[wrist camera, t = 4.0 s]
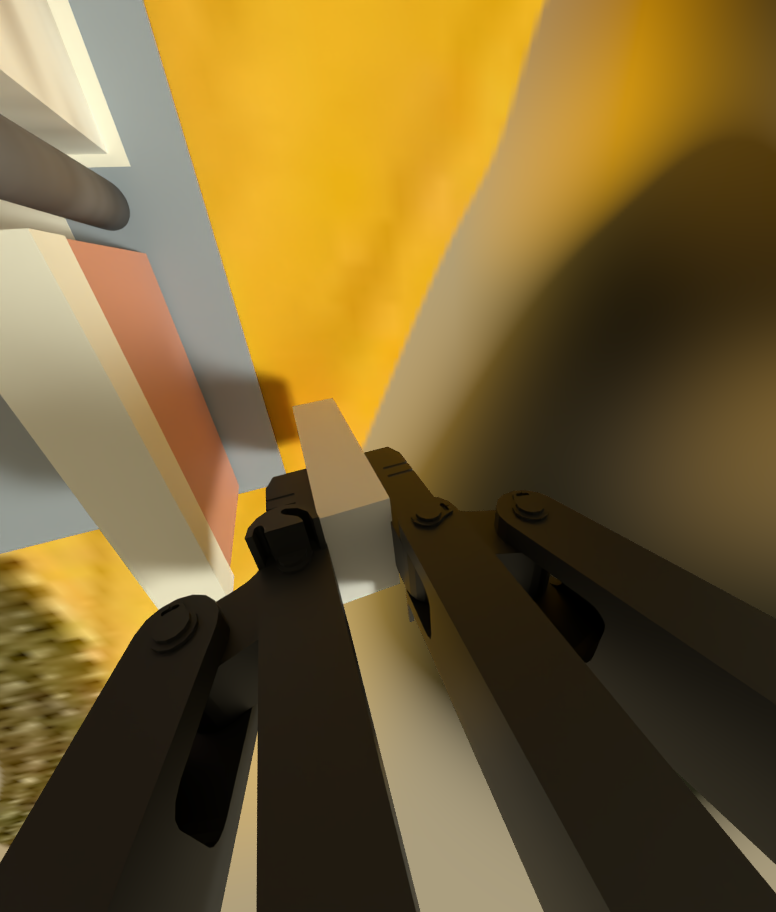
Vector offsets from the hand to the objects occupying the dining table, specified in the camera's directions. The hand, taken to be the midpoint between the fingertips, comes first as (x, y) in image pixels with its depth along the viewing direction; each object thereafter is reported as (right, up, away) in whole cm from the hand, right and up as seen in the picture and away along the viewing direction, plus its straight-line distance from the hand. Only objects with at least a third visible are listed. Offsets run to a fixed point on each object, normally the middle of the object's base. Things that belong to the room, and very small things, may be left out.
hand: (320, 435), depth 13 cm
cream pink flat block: (-5, +1, -1) cm, 5 cm away
